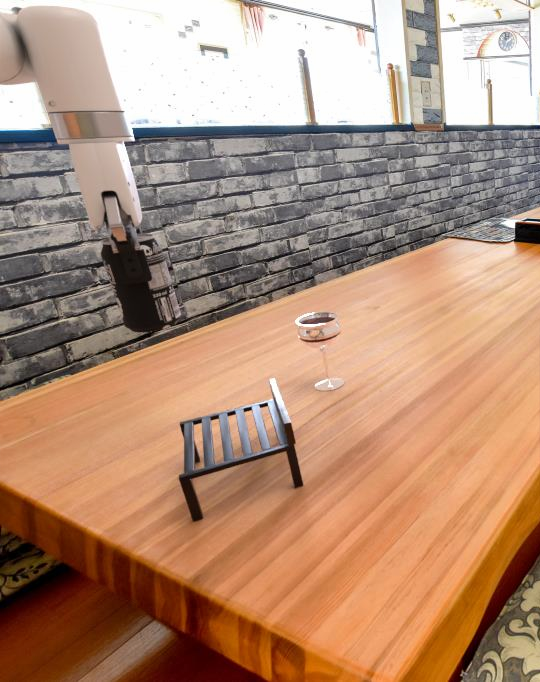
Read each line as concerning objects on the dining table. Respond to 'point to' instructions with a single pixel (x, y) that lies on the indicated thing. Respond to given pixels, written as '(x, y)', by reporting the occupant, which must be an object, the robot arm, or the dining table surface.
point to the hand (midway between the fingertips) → (139, 275)
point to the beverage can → (144, 290)
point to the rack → (282, 432)
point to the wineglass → (321, 340)
